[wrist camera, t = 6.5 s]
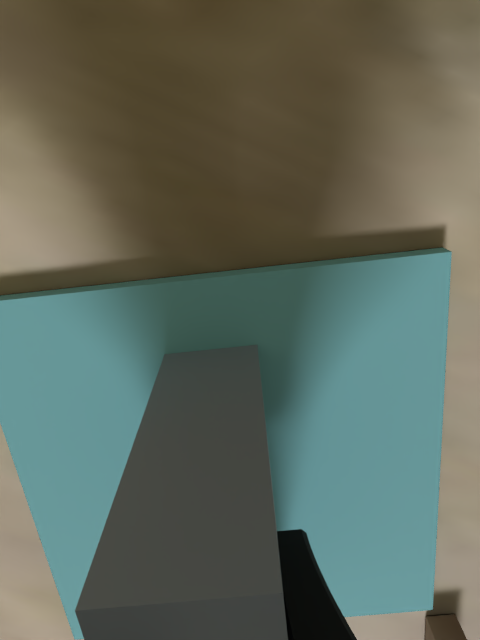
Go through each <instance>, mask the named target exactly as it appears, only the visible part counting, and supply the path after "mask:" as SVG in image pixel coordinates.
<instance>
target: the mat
mask: <svg viewBox="0 0 480 640" xmlns="http://www.w3.org/2000/svg"><path fill="white" fill-rule="evenodd" d="M450 271H451V251H449V250H447V249H445V248H443V247H442V248H433V249H424V250H415V251H406V252H397V253H387V254H378V255H369V256H360V257H351V258H341V259H332V260H323V261H314V262H305V263H295V264H286V265H277V266H268V267H259V268H250V269H240V270H231V271H222V272H213V273H204V274H194V275H185V276H176V277H167V278H158V279H148V280H139V281H130V282H121V283H112V284H103V285H93V286H84V287H75V288H66V289H57V290H47V291H38V292H29V293H20V294H11V295H1V296H0V423H1V426H2V429H3V432H4V435H5V438H6V441H7V444H8V447H9V449H10V452H11V455H12V458H13V461H14V464H15V467H16V470H17V473H18V476H19V479H20V482H21V484H22V487H23V490H24V493H25V496H26V499H27V502H28V505H29V508H30V511H31V514H32V517H33V519H34V522H35V525H36V528H37V531H38V534H39V537H40V540H41V543H42V546H43V549H44V552H45V554H46V557H47V560H48V563H49V566H50V569H51V572H52V575H53V578H54V581H55V584H56V587H57V589H58V592H59V595H60V598H61V601H62V604H63V607H64V610H65V613H66V616H67V619H68V622H69V624H70V627H71V630H72V633H73V636H74V639H84V637H83V634H82V631H81V628H80V625H79V622H78V619H77V616H76V613H75V609H76V606H77V603H78V600H79V597H80V595H81V592H82V589H83V586H84V583H85V580H86V577H87V575H88V572H89V569H90V566H91V563H92V560H93V557H94V555H95V552H96V549H97V546H98V543H99V540H100V537H101V534H102V532H103V529H104V526H105V523H106V520H107V517H108V514H109V512H110V509H111V506H112V503H113V500H114V497H115V494H116V492H117V489H118V486H119V483H120V480H121V477H122V474H123V472H124V469H125V466H126V463H127V460H128V457H129V454H130V451H131V449H132V446H133V443H134V440H135V437H136V434H137V431H138V429H139V426H140V423H141V420H142V417H143V414H144V411H145V409H146V406H147V403H148V400H149V397H150V394H151V391H152V389H153V386H154V383H155V380H156V377H157V374H158V371H159V368H160V366H161V363H162V360H163V357H164V354H172V353H181V352H191V351H201V350H210V349H220V348H230V347H239V346H249V345H257V346H258V356H259V365H260V375H261V384H262V394H263V403H264V412H265V422H266V431H267V441H268V450H269V460H270V469H271V479H272V488H273V498H274V507H275V516H276V526H277V531H285V530H296V529H302V530H303V531H305V532H306V533H307V537H308V540H309V543H310V546H311V549H312V552H313V554H314V557H315V559H316V561H317V564H318V566H319V568H320V571H321V573H322V575H323V577H324V579H325V581H326V583H327V586H328V588H329V590H330V592H331V594H332V596H333V597H334V599H335V601H336V603H337V605H338V607H339V609H340V610H341V612H342V614H343V616H344V617H352V616H364V615H376V614H388V613H400V612H412V611H424V610H433V595H434V576H435V557H436V538H437V519H438V500H439V481H440V461H441V442H442V423H443V404H444V385H445V366H446V347H447V328H448V309H449V290H450Z"/></svg>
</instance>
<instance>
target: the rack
mask: <svg viewBox="0 0 480 640" xmlns="http://www.w3.org/2000/svg"><path fill="white" fill-rule="evenodd" d="M425 640H467V639H466V637H465V635H464V632H463V630H462V628H461V626H460V624H459V622H458V620H457V617H456V615H455V614H452V615H440V616H428V617H426V626H425Z"/></svg>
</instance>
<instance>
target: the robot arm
mask: <svg viewBox="0 0 480 640" xmlns="http://www.w3.org/2000/svg"><path fill="white" fill-rule="evenodd" d="M277 538H278V547H279V557H280V567H281V577H282V586H283V596H284V605H285V615H286V624H287V633H288V640H357V639H356V637H355V636H354V634H353V632H352V631H351V629H350V627H349V625H348V623H347V622H346V620H345V618H344V616H343V614H342V612H341V610H340V609H339V607H338V605H337V603H336V601H335V599H334V597H333V596H332V594H331V592H330V590H329V588H328V586H327V583H326V581H325V579H324V577H323V575H322V573H321V571H320V568H319V566H318V564H317V561H316V559H315V557H314V554H313V552H312V549H311V546H310V543H309V540H308V537H307V533H306V532H305V531H303V530H302V529H296V530H285V531H277Z"/></svg>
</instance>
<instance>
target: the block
mask: <svg viewBox="0 0 480 640" xmlns="http://www.w3.org/2000/svg"><path fill="white" fill-rule="evenodd" d="M75 613H76V616H77V619H78V622H79V625H80V628H81V631H82V634H83V637H84V640H288V633H287V624H286V615H285V605H284V596H283V586H282V577H281V567H280V557H279V547H278V538H277V526H276V516H275V507H274V498H273V488H272V479H271V469H270V460H269V450H268V441H267V431H266V422H265V412H264V403H263V394H262V384H261V375H260V365H259V356H258V346H257V345H249V346H239V347H230V348H220V349H210V350H201V351H191V352H181V353H172V354H164V357H163V360H162V363H161V366H160V368H159V371H158V374H157V377H156V380H155V383H154V386H153V389H152V391H151V394H150V397H149V400H148V403H147V406H146V409H145V411H144V414H143V417H142V420H141V423H140V426H139V429H138V431H137V434H136V437H135V440H134V443H133V446H132V449H131V451H130V454H129V457H128V460H127V463H126V466H125V469H124V472H123V474H122V477H121V480H120V483H119V486H118V489H117V492H116V494H115V497H114V500H113V503H112V506H111V509H110V512H109V514H108V517H107V520H106V523H105V526H104V529H103V532H102V534H101V537H100V540H99V543H98V546H97V549H96V552H95V555H94V557H93V560H92V563H91V566H90V569H89V572H88V575H87V577H86V580H85V583H84V586H83V589H82V592H81V595H80V597H79V600H78V603H77V606H76V609H75Z"/></svg>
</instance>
